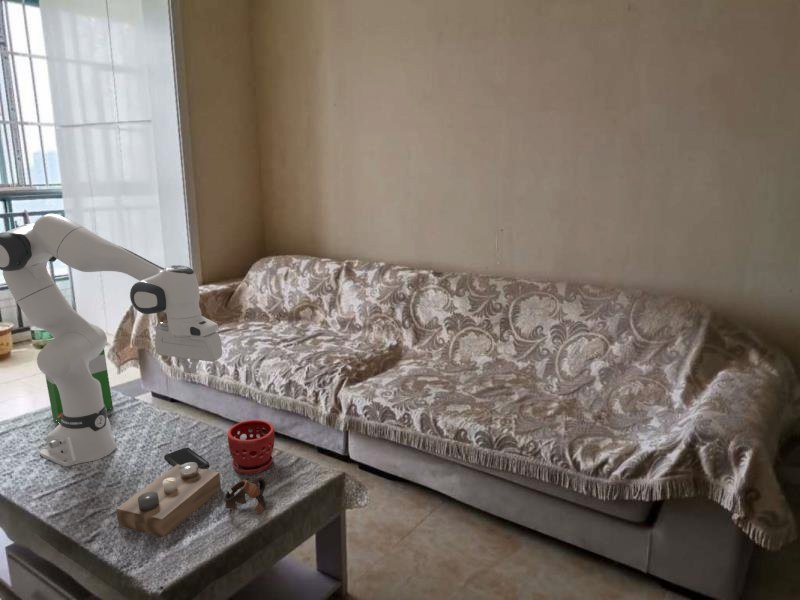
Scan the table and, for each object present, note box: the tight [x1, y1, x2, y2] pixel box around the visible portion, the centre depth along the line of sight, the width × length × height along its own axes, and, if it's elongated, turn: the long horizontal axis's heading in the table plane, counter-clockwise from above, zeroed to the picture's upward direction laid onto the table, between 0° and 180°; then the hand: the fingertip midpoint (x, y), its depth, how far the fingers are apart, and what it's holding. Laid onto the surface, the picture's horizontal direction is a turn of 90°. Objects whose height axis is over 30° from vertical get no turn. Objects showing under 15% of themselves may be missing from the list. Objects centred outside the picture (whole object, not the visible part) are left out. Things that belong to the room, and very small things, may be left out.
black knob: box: [138, 492, 159, 511], centre depth 143 cm, size 5×5×7 cm
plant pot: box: [227, 419, 275, 475], centre depth 168 cm, size 13×13×12 cm
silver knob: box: [180, 462, 199, 479], centre depth 156 cm, size 5×5×7 cm
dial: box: [163, 478, 177, 493], centre depth 149 cm, size 3×3×3 cm
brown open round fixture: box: [223, 476, 267, 516], centre depth 150 cm, size 12×10×8 cm
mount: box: [115, 464, 222, 538], centre depth 150 cm, size 14×22×5 cm, turn 161°
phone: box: [163, 447, 210, 469], centre depth 173 cm, size 8×1×15 cm
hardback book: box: [44, 348, 114, 424], centre depth 205 cm, size 18×7×24 cm, turn 137°
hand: (190, 372), depth 161 cm, fingers closed
